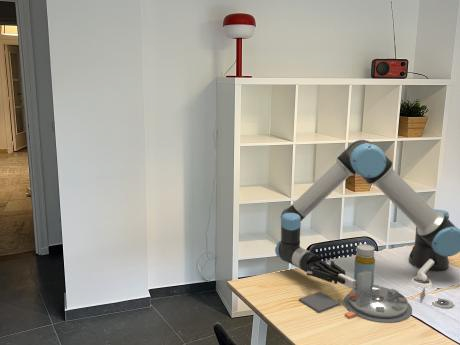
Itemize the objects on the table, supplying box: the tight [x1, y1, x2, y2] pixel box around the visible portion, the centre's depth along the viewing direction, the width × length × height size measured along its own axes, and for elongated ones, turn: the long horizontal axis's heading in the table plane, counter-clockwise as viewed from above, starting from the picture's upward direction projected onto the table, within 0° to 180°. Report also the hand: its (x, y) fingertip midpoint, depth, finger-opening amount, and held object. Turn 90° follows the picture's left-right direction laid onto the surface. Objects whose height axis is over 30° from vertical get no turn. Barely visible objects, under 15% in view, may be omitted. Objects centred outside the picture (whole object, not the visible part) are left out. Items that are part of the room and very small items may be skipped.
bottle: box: [353, 243, 376, 287], centre depth 164 cm, size 7×7×15 cm
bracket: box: [419, 287, 455, 309], centre depth 152 cm, size 7×10×4 cm, turn 57°
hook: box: [410, 259, 434, 289], centre depth 166 cm, size 8×12×7 cm
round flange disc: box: [348, 271, 409, 319], centre depth 149 cm, size 19×19×13 cm
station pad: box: [298, 290, 342, 314], centre depth 153 cm, size 10×10×1 cm
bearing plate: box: [343, 293, 413, 324], centre depth 151 cm, size 22×22×1 cm
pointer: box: [344, 311, 357, 320], centre depth 144 cm, size 3×2×1 cm, turn 122°
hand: (354, 284), depth 149 cm, fingers closed
